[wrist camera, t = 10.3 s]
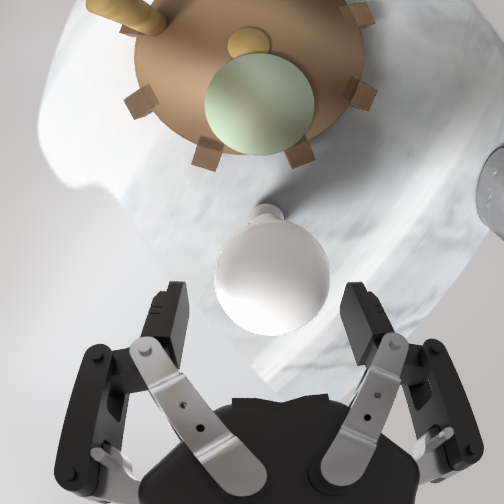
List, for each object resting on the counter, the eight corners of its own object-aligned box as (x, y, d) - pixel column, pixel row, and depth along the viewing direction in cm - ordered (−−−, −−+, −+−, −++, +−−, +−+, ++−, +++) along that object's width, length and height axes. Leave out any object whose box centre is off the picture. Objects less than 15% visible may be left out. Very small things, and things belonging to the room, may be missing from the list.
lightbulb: (315, 187, 21) (365, 275, 12) (293, 256, 24) (315, 363, 15) (233, 169, 20) (218, 249, 11) (219, 243, 23) (201, 350, 14)
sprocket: (179, -60, 9) (142, -120, 1) (398, 13, 12) (476, -10, 5) (104, 132, 17) (25, 169, 10) (315, 198, 20) (352, 270, 13)
